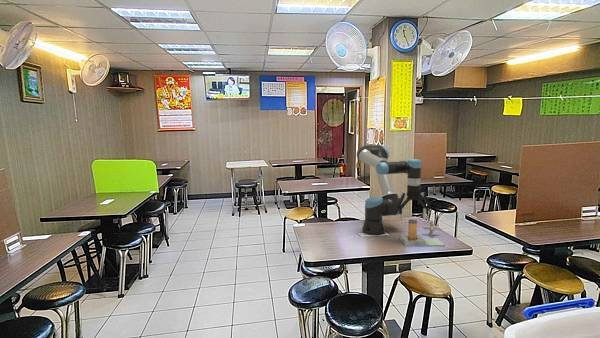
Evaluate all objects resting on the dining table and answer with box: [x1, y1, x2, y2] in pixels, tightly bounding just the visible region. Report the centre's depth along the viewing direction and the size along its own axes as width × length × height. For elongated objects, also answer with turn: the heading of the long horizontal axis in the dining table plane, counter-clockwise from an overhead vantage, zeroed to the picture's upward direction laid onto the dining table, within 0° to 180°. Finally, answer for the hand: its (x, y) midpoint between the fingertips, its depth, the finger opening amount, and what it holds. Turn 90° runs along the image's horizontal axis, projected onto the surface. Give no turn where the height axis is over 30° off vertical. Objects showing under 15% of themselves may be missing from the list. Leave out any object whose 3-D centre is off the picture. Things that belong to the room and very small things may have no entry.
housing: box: [399, 233, 427, 247], centre depth 193 cm, size 12×12×3 cm
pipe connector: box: [422, 219, 441, 237], centre depth 205 cm, size 10×10×10 cm
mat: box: [423, 238, 446, 247], centre depth 192 cm, size 11×10×1 cm
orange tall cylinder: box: [407, 218, 418, 240], centre depth 192 cm, size 5×5×14 cm
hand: (413, 219), depth 191 cm, fingers open, 13 cm apart
